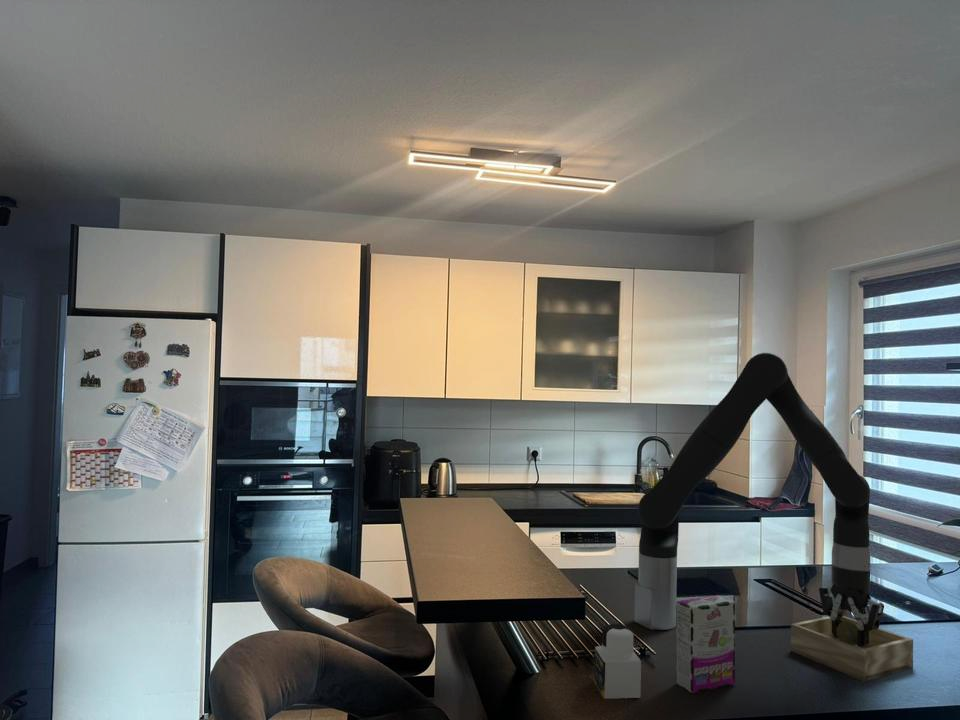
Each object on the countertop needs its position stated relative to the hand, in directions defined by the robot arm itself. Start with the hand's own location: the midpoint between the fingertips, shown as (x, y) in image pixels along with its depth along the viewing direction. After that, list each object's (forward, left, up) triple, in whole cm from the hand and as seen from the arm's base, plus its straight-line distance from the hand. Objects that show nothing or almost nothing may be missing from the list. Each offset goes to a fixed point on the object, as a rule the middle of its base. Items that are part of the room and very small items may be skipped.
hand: (849, 641), depth 146 cm
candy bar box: (-40, +4, -4) cm, 40 cm away
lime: (0, 0, -1) cm, 1 cm away
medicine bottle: (-58, +9, -4) cm, 59 cm away
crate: (0, 0, -4) cm, 4 cm away
